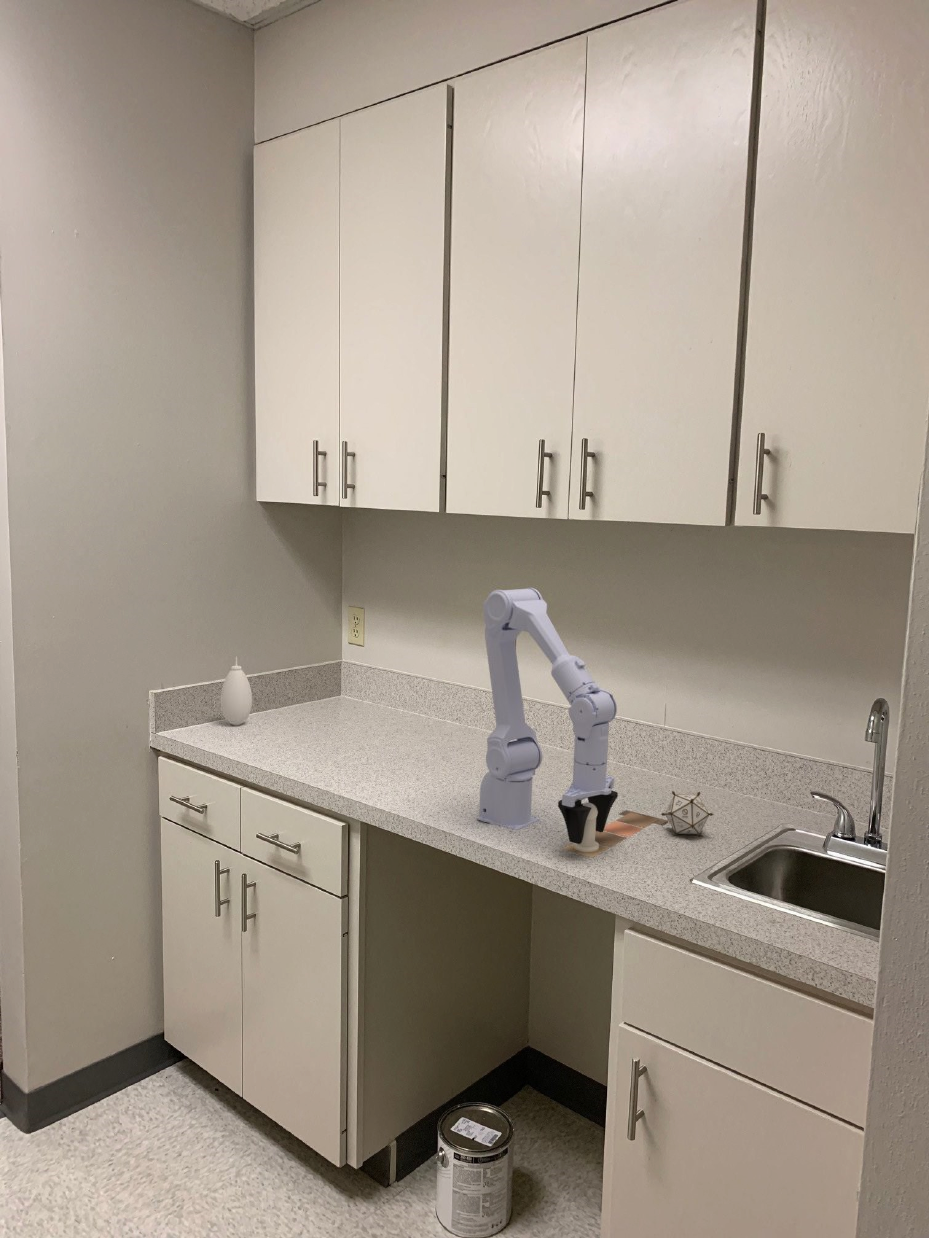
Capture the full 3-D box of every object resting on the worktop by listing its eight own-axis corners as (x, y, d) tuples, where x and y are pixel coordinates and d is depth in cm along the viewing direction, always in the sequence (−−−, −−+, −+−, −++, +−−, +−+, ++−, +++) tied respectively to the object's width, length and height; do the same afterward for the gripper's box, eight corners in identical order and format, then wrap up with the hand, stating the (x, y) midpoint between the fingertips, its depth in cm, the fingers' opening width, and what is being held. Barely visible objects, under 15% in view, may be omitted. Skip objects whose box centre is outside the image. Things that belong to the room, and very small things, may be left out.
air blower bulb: (240, 729, 240) (240, 659, 237) (214, 726, 242) (214, 657, 240) (257, 723, 247) (257, 655, 244) (232, 719, 250) (232, 652, 247)
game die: (688, 851, 176) (714, 805, 178) (701, 851, 168) (728, 803, 170) (647, 824, 177) (673, 779, 179) (658, 823, 169) (685, 776, 171)
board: (551, 850, 164) (551, 847, 164) (626, 811, 186) (626, 809, 186) (597, 863, 159) (597, 861, 159) (668, 822, 181) (668, 820, 181)
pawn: (568, 848, 164) (570, 803, 163) (581, 841, 168) (583, 797, 167) (590, 854, 162) (592, 808, 161) (603, 847, 165) (605, 802, 164)
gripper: (589, 774, 155) (585, 853, 156) (630, 756, 166) (626, 830, 168) (552, 765, 159) (549, 843, 161) (595, 749, 170) (592, 821, 172)
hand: (586, 836), depth 164 cm, fingers open, 7 cm apart
